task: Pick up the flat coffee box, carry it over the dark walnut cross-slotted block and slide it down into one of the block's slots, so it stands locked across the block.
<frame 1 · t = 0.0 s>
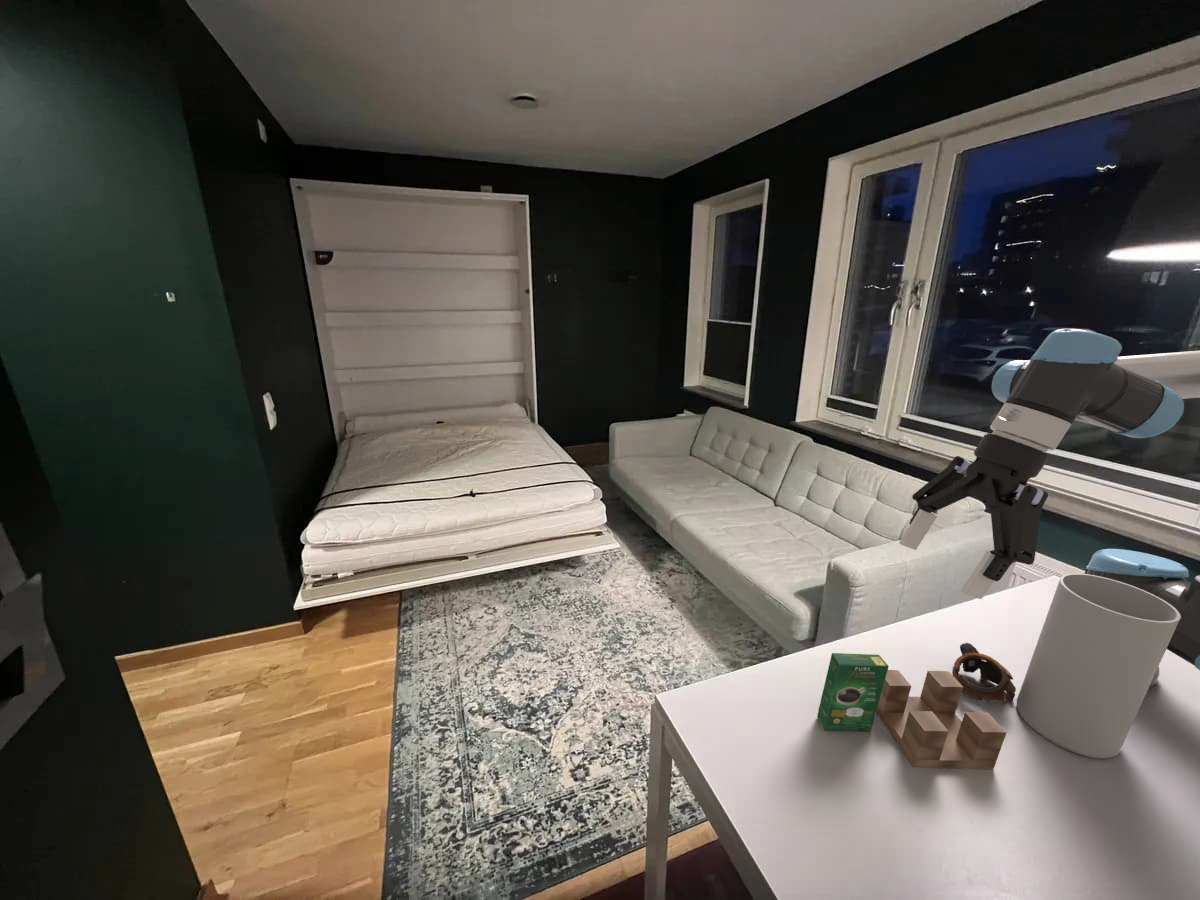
hand: (936, 568, 72), 28 cm above the table, tool tilted 20°, fingers open, 13 cm apart
coffee box: (843, 725, 78), on the table
walnut cross socket: (927, 733, 76), on the table
cylinder vase: (1063, 727, 78), on the table
brown ring-shaped frame: (976, 689, 86), on the table
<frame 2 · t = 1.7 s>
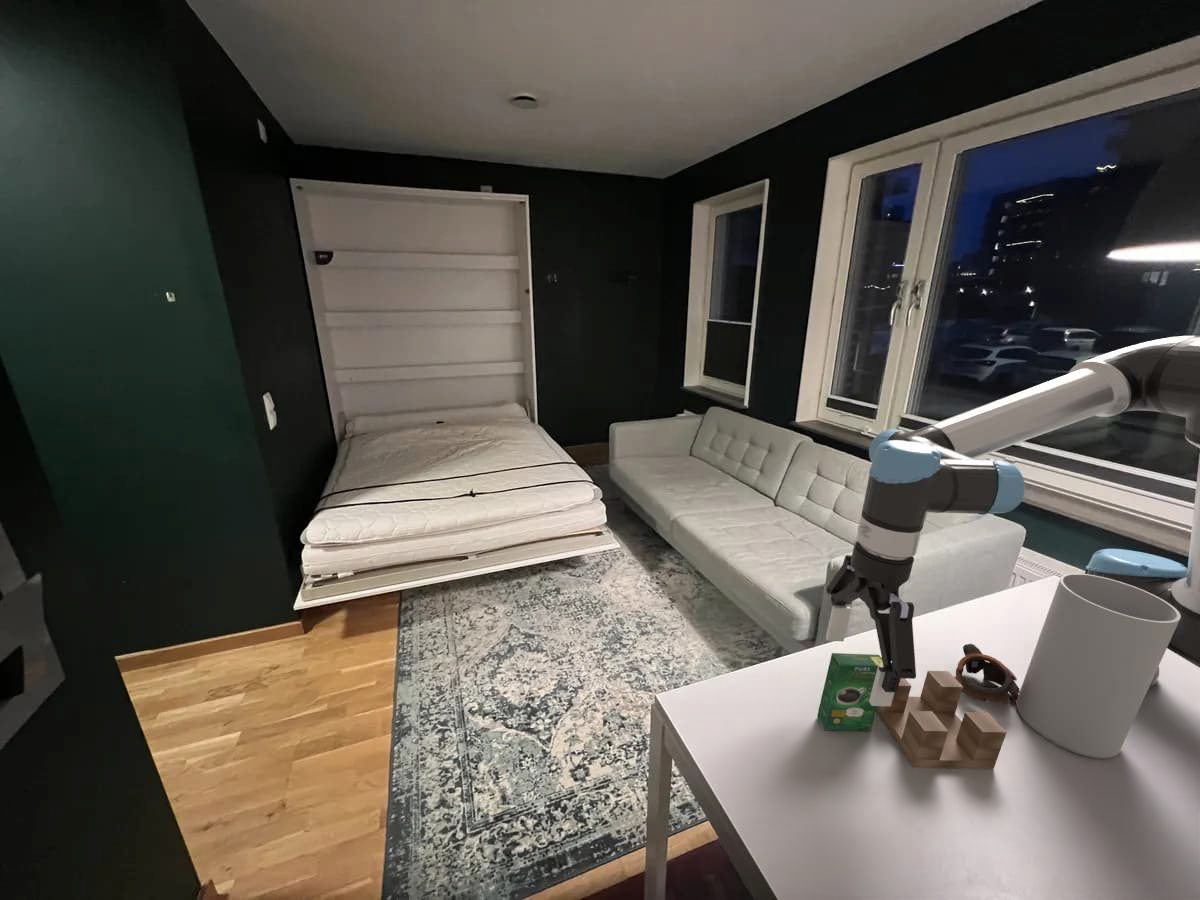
hand: (855, 669, 74), 11 cm above the table, tool pointing down, fingers open, 13 cm apart
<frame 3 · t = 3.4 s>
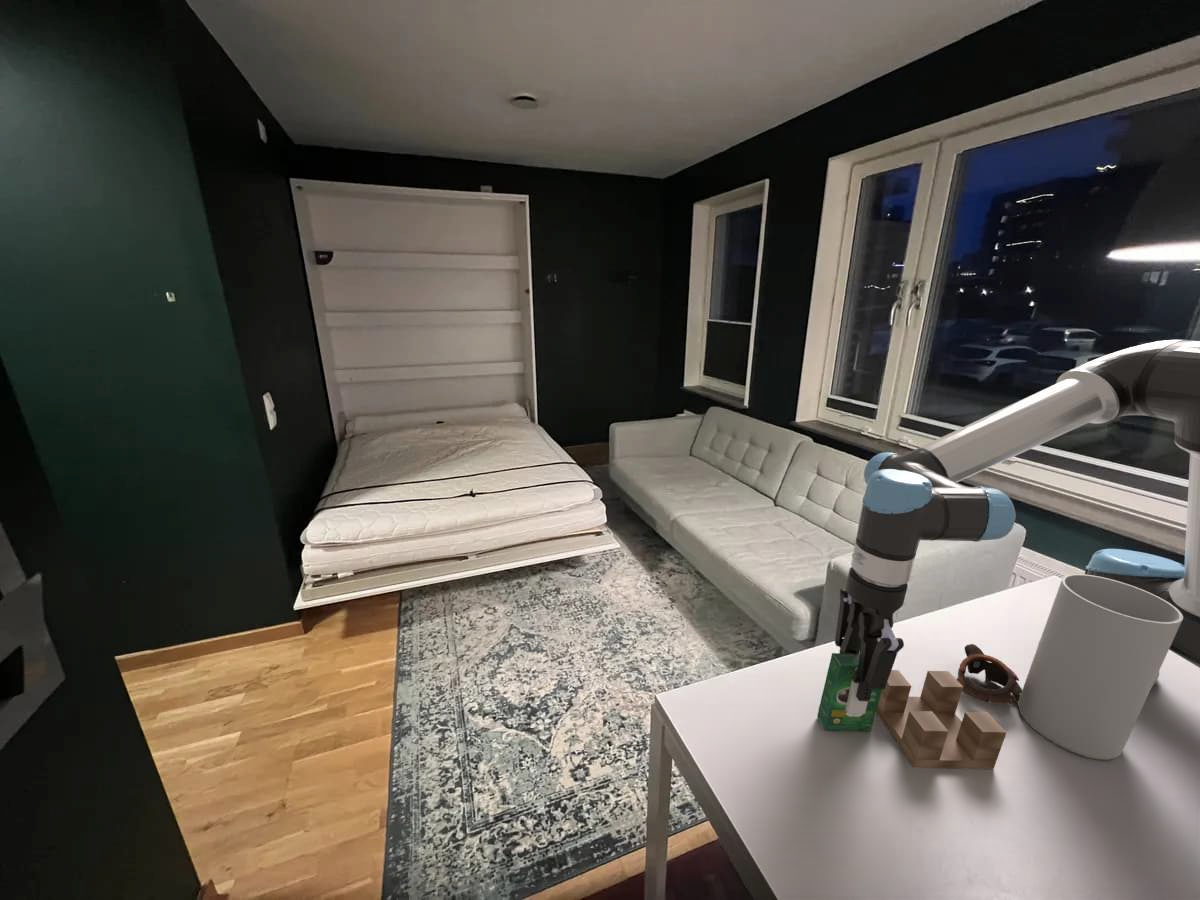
hand: (849, 702, 76), 5 cm above the table, tool pointing down, fingers closed on coffee box, 3 cm apart
coffee box: (843, 725, 78), on the table, touching gripper
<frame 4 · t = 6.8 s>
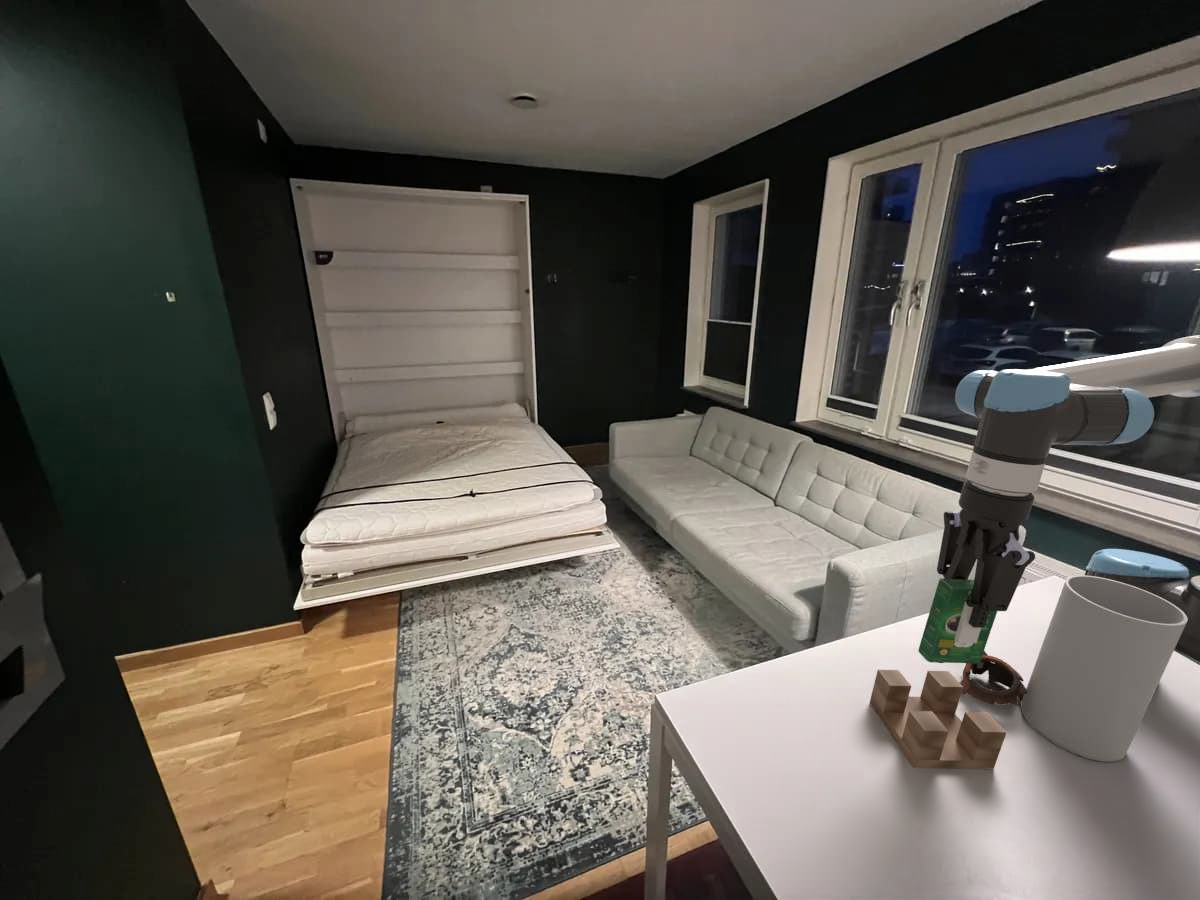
hand: (956, 632, 71), 19 cm above the table, tool pointing down, fingers closed on coffee box, 3 cm apart
coffee box: (948, 658, 72), point 14 cm above the table, touching gripper
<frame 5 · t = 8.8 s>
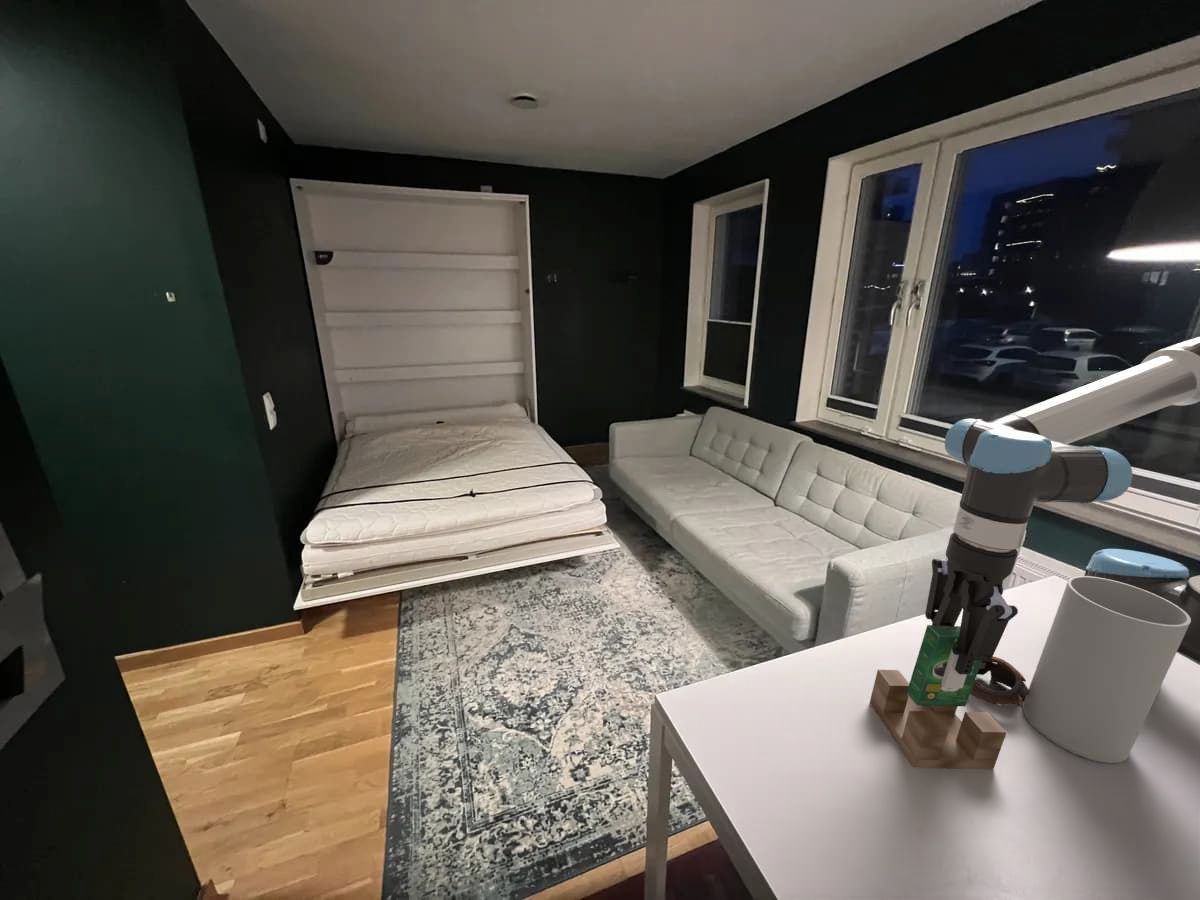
hand: (943, 676, 73), 11 cm above the table, tool pointing down, fingers closed on coffee box, 3 cm apart
coffee box: (935, 701, 74), point 6 cm above the table, touching gripper
when the fingers open (9 cm above the table, at t = 10.2 s): coffee box drops 3 cm, resting on walnut cross socket.
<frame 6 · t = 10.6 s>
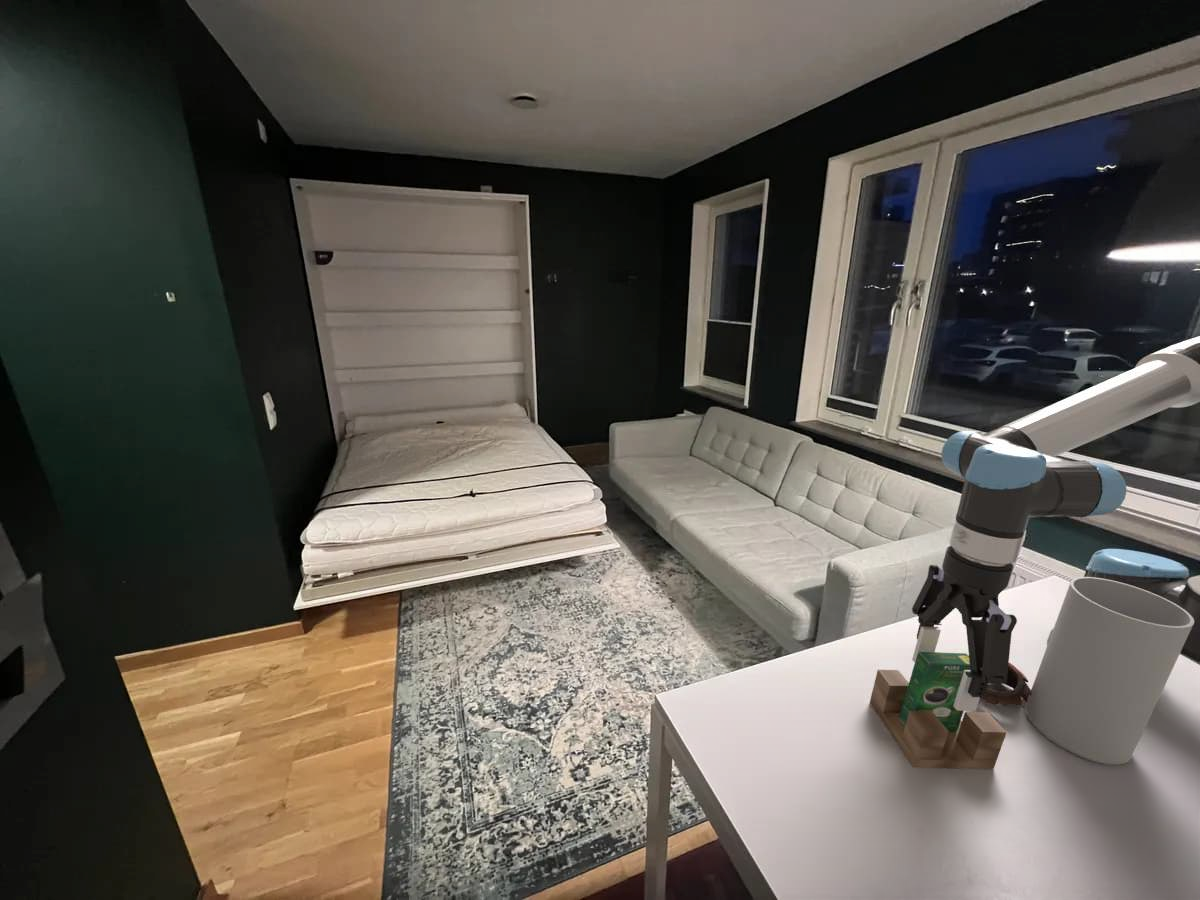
hand: (941, 683, 73), 10 cm above the table, tool pointing down, fingers open, 9 cm apart
coffee box: (927, 726, 76), point 1 cm above the table, touching walnut cross socket
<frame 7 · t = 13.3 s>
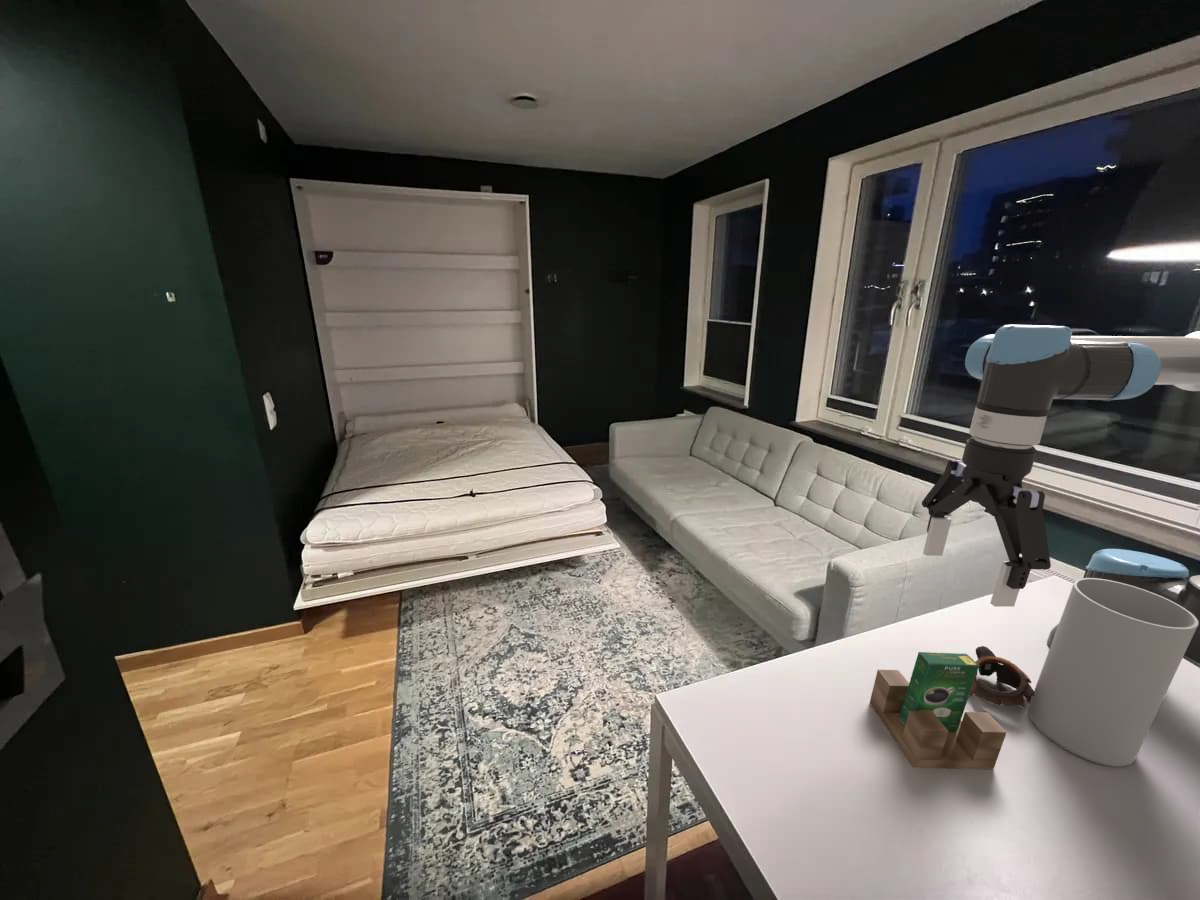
hand: (964, 577, 71), 27 cm above the table, tool pointing down, fingers open, 13 cm apart
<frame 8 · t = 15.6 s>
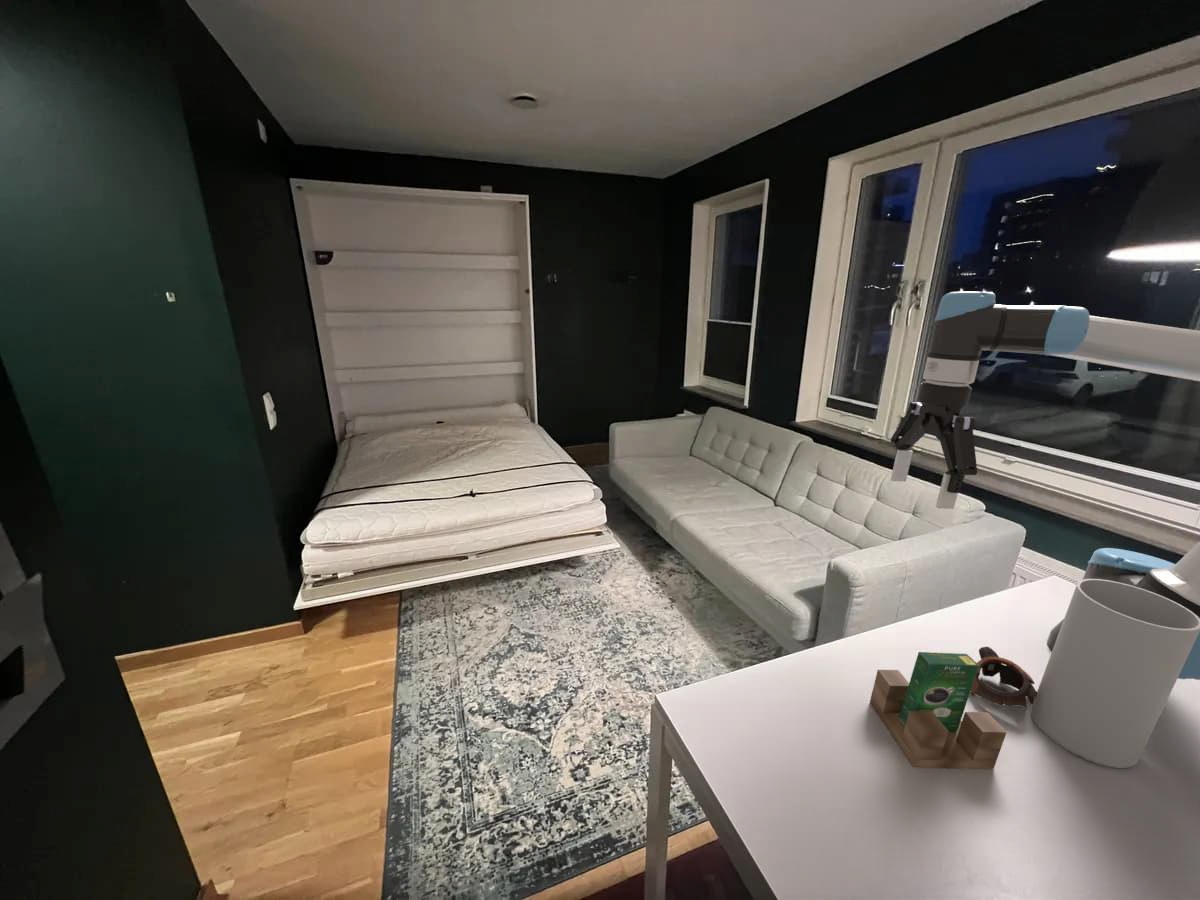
hand: (919, 493, 91), 32 cm above the table, tool pointing down, fingers open, 13 cm apart
cylinder vase: (1080, 735, 77), on the table, touching brown ring-shaped frame
brown ring-shaped frame: (995, 693, 85), on the table, touching cylinder vase
everything else where it was.
at the end: walnut cross socket 0.0 cm off-centre on the walnut cross socket, point 0.0 cm above the walnut cross socket's base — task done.
